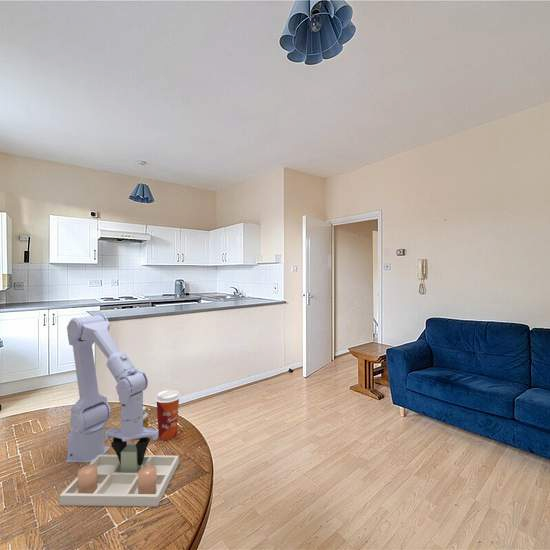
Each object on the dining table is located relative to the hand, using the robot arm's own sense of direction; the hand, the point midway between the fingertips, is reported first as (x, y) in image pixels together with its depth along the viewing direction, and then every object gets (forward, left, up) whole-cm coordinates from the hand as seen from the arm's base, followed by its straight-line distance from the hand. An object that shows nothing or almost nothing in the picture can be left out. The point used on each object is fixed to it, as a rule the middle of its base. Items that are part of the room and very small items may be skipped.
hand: (131, 463), depth 86 cm
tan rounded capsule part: (+8, -8, -3) cm, 11 cm away
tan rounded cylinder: (-8, -8, -3) cm, 11 cm away
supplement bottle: (-7, +21, -4) cm, 22 cm away
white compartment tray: (0, -4, -3) cm, 5 cm away
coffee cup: (+3, +21, -4) cm, 21 cm away
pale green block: (0, 0, -2) cm, 2 cm away
